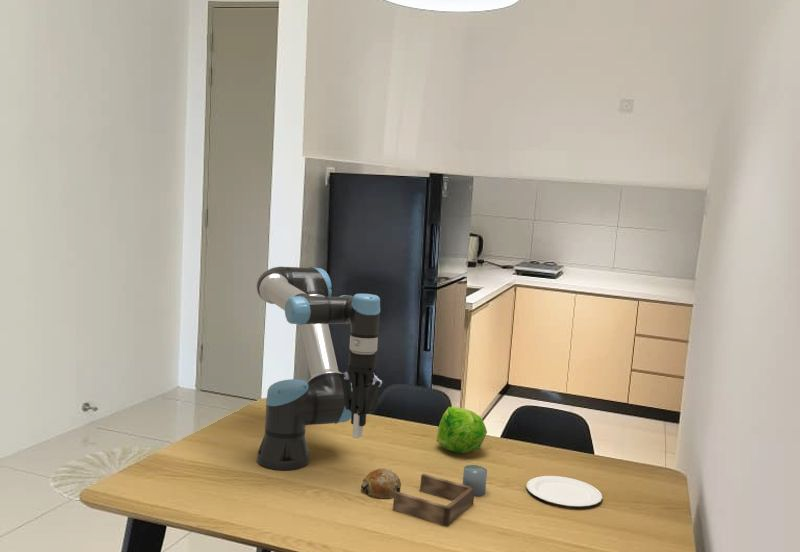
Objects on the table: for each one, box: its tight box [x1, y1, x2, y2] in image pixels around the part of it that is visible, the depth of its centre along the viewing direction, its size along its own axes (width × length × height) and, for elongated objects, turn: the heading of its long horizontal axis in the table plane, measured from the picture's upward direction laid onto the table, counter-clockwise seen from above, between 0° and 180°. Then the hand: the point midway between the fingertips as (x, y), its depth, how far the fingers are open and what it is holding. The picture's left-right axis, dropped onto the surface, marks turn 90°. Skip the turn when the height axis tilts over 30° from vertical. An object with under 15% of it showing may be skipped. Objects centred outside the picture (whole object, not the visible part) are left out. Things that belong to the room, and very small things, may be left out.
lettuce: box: [436, 406, 488, 455], centre depth 230 cm, size 15×20×14 cm
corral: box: [392, 473, 475, 527], centre depth 185 cm, size 15×16×4 cm
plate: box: [526, 475, 603, 508], centre depth 200 cm, size 21×21×2 cm
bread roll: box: [360, 468, 401, 499], centre depth 192 cm, size 10×10×8 cm
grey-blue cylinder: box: [462, 464, 488, 498], centre depth 197 cm, size 6×6×6 cm
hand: (357, 436), depth 195 cm, fingers closed
